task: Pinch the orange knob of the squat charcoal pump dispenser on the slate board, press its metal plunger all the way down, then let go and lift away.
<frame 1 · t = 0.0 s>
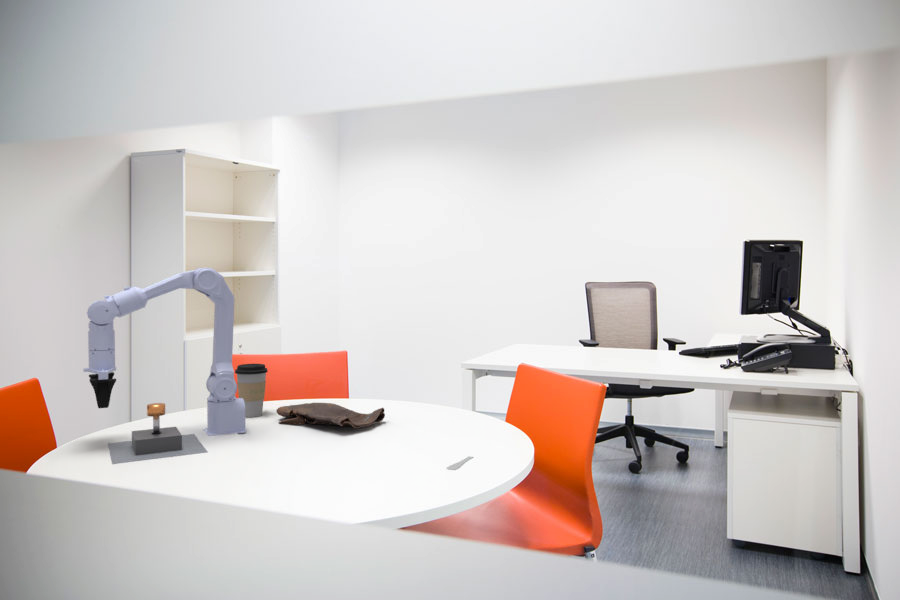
hand: (102, 404, 160), 10 cm above the table, tool pointing down, fingers open, 7 cm apart
folded brown cloth: (328, 424, 187), on the table
board: (156, 449, 157), on the table
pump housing: (156, 447, 157), resting on board
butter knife: (471, 458, 153), on the table
coffee cup: (251, 415, 196), on the table
plunger: (156, 419, 157), point 7 cm above the table, slide at 3.0 cm
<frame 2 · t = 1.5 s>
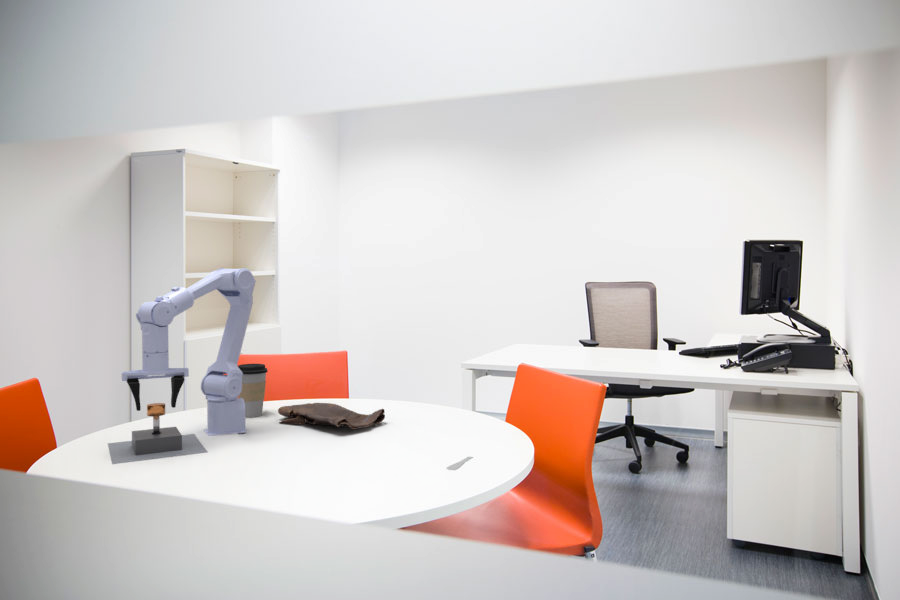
hand: (156, 408, 157), 10 cm above the table, tool pointing down, fingers open, 7 cm apart
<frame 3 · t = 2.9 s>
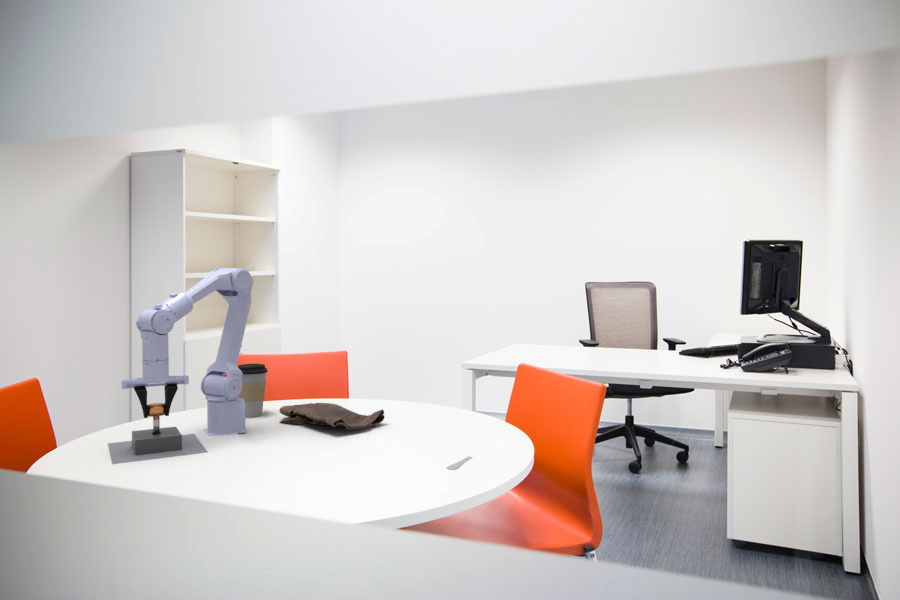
hand: (156, 416, 157), 8 cm above the table, tool pointing down, fingers closed on plunger, 4 cm apart
plunger: (156, 419, 157), point 7 cm above the table, slide at 3.0 cm, touching gripper
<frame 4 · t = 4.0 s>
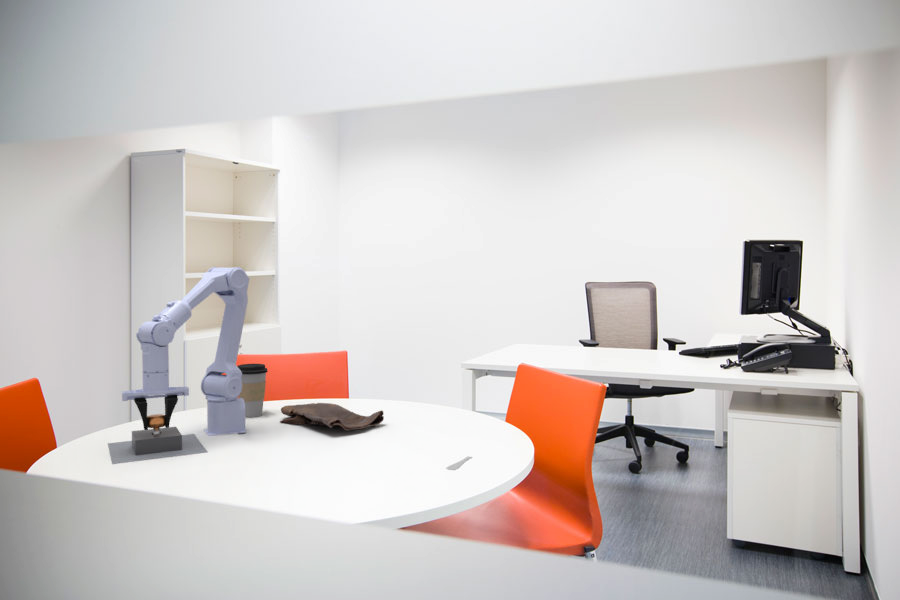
hand: (156, 427, 157), 5 cm above the table, tool pointing down, fingers closed on plunger, 4 cm apart
plunger: (156, 430, 157), point 5 cm above the table, slide at 0.2 cm, touching gripper
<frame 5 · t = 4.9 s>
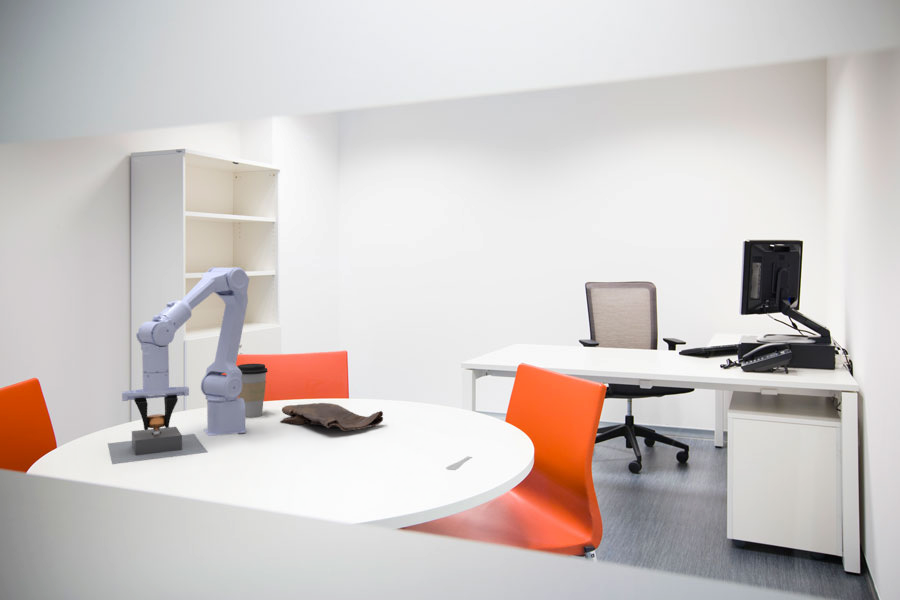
hand: (156, 427, 157), 5 cm above the table, tool pointing down, fingers closed on plunger, 4 cm apart
plunger: (156, 430, 157), point 5 cm above the table, slide at 0.2 cm, touching gripper
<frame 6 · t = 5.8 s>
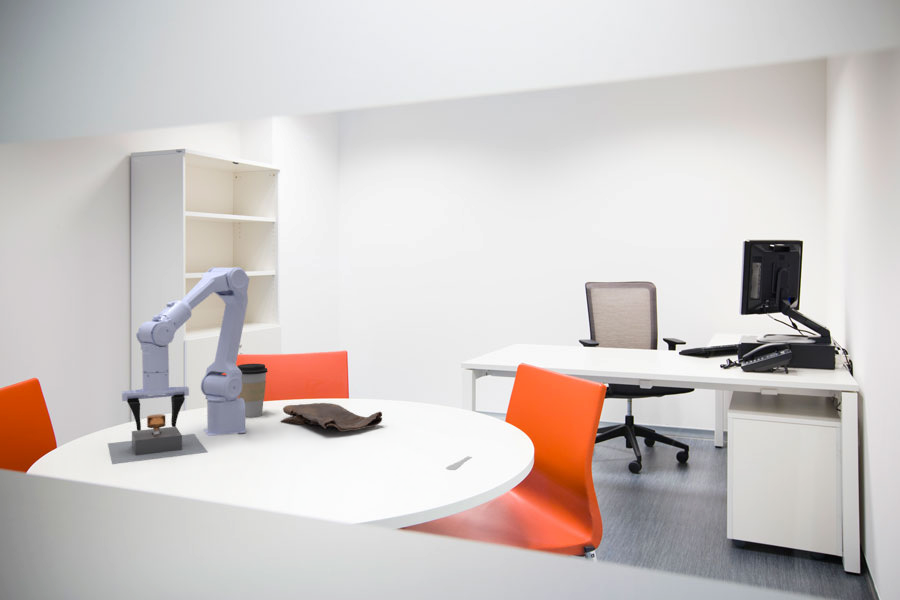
hand: (156, 427, 157), 5 cm above the table, tool pointing down, fingers open, 7 cm apart
plunger: (156, 430, 157), point 5 cm above the table, slide at 0.2 cm
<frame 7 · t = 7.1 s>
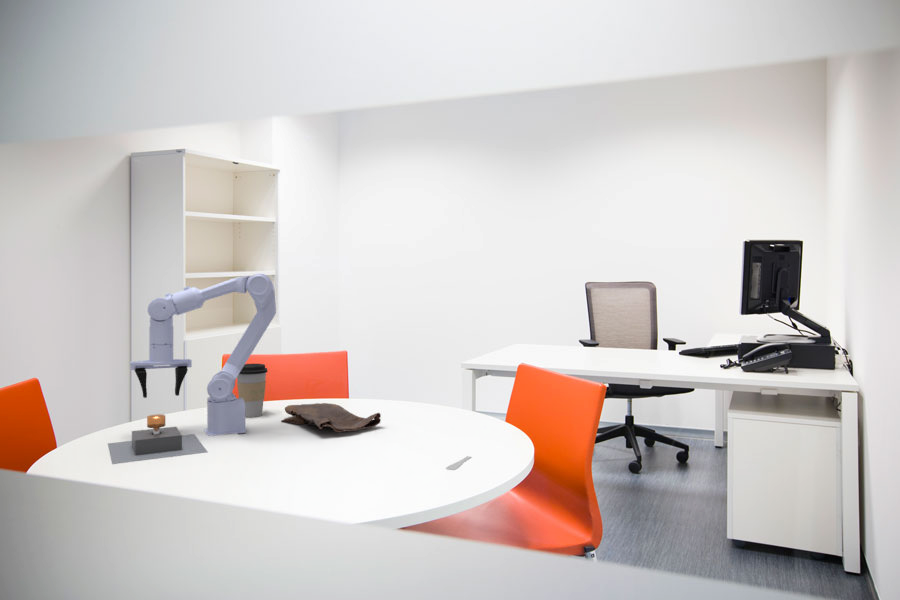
hand: (161, 396, 170), 10 cm above the table, tool pointing down, fingers open, 7 cm apart
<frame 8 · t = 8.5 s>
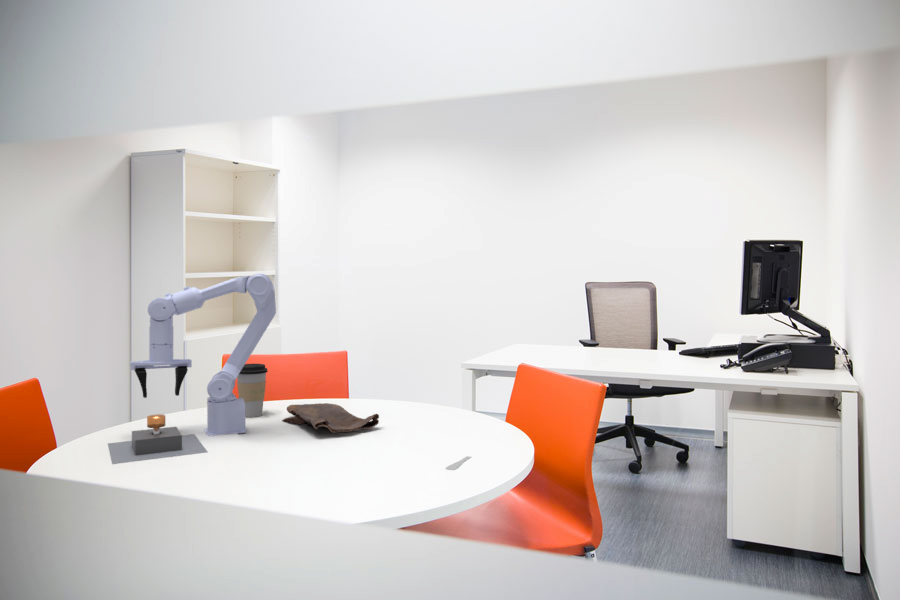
hand: (161, 396, 170), 10 cm above the table, tool pointing down, fingers open, 7 cm apart
at the end: plunger slide at 0.2 cm; the gripper is holding nothing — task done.
